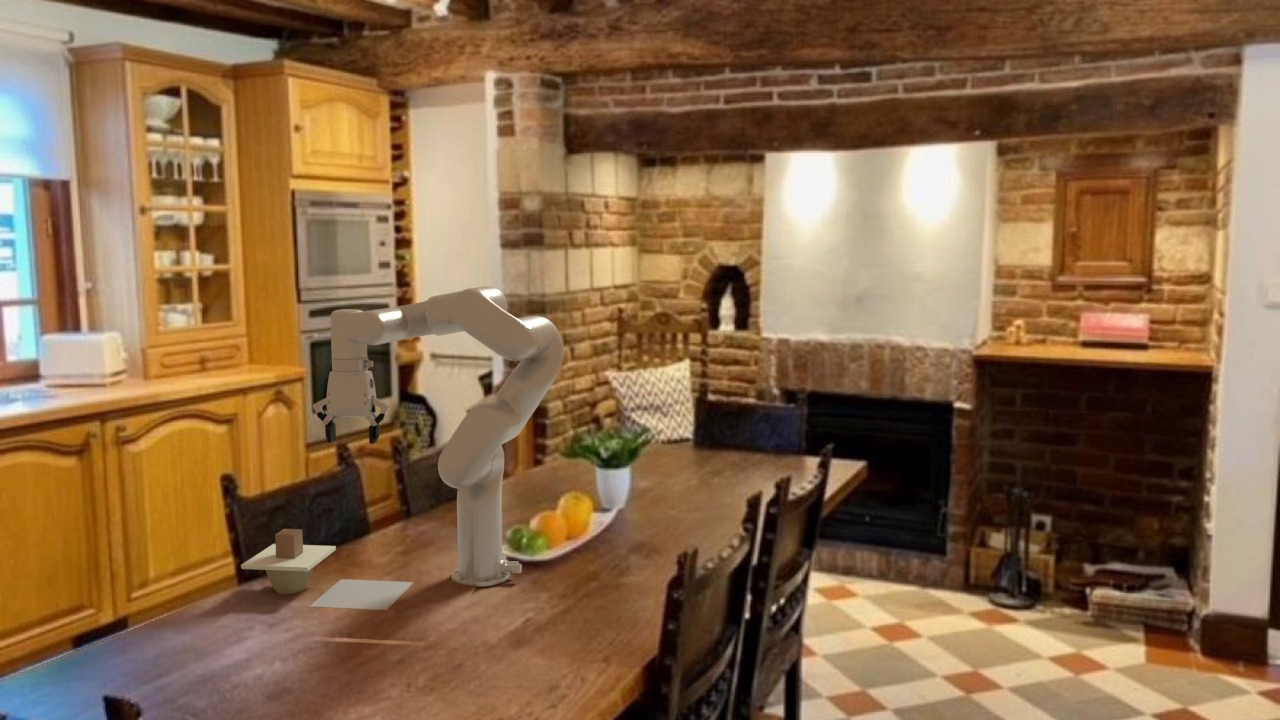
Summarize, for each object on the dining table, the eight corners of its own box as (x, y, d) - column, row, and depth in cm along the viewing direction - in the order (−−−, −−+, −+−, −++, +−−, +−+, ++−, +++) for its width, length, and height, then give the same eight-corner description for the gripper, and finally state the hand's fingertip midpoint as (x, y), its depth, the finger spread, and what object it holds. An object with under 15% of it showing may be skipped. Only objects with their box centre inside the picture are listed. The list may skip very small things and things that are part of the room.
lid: (335, 549, 217) (334, 523, 216) (307, 571, 203) (306, 543, 202) (273, 547, 218) (272, 521, 217) (241, 568, 204) (239, 540, 204)
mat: (413, 584, 216) (413, 582, 216) (386, 612, 200) (386, 609, 200) (341, 581, 217) (341, 579, 217) (309, 609, 202) (308, 606, 202)
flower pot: (300, 602, 206) (298, 568, 205) (255, 598, 207) (254, 564, 207) (325, 585, 215) (323, 552, 214) (282, 582, 217) (280, 549, 216)
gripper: (393, 364, 225) (396, 439, 228) (319, 362, 227) (322, 437, 229) (381, 368, 218) (384, 446, 220) (304, 367, 220) (307, 444, 222)
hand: (352, 441), depth 225 cm, fingers open, 9 cm apart
